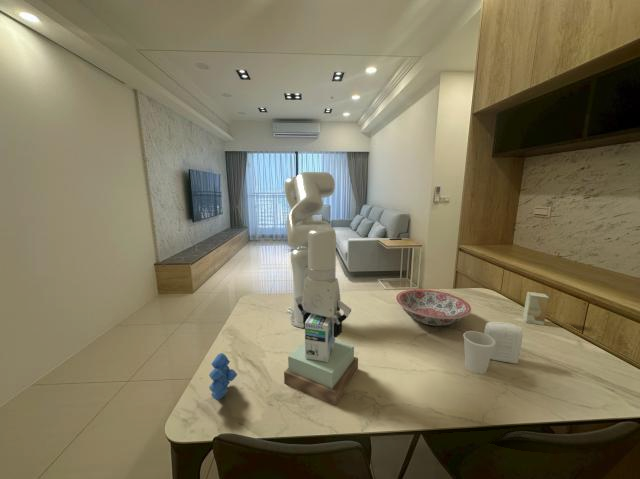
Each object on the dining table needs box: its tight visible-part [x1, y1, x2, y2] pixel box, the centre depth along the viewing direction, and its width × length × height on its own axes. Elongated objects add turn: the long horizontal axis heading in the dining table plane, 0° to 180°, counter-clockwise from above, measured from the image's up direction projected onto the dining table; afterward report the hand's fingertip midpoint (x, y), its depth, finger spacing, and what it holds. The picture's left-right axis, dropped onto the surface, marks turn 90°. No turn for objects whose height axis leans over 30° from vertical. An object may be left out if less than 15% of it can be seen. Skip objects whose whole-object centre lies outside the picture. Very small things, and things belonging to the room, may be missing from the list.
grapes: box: [208, 352, 238, 401], centre depth 69 cm, size 12×7×12 cm, turn 8°
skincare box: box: [522, 291, 550, 326], centre depth 108 cm, size 6×4×12 cm
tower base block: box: [283, 356, 359, 406], centre depth 77 cm, size 16×16×4 cm
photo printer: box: [483, 321, 524, 364], centre depth 84 cm, size 10×4×12 cm, turn 72°
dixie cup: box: [462, 330, 495, 374], centre depth 80 cm, size 8×8×10 cm
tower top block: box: [287, 339, 355, 389], centre depth 76 cm, size 14×14×4 cm
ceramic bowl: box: [395, 288, 472, 327], centre depth 111 cm, size 29×29×8 cm
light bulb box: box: [304, 313, 336, 362], centre depth 75 cm, size 11×7×11 cm, turn 165°
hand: (321, 330), depth 75 cm, fingers open, 9 cm apart
